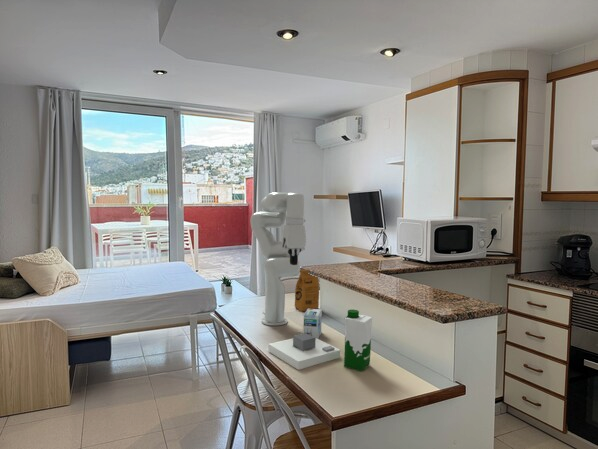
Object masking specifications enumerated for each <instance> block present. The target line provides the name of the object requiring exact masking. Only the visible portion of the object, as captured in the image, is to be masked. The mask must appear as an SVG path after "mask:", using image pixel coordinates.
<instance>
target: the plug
mask: <svg viewBox="0 0 598 449" xmlns="http://www.w3.org/2000/svg"><path fill="white" fill-rule="evenodd" d="M292 336H293V337H292V338H293V346H294V347H295V348H298V349H300V350H302V351H305V350H306V351H308V350H310V349H313V348H315V340H316V338H315V337H313V336H311V335H309V334H307V333H303V332H302V333H300V334H296V335H292Z"/></svg>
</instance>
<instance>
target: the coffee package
mask: <svg viewBox="0 0 598 449" xmlns="http://www.w3.org/2000/svg"><path fill="white" fill-rule="evenodd" d="M310 270H311V269H300V271H299V277H298V279H297V281H296V284H295V290H294V307H295V309H297V310H298V311H301V312H306V311H307V309H308V308H310V309H319V305H320V304H319V302H320V301H319V300H320V299H319V298H320V297H319V296H320V282H319V276H318V277H315V276H312V275H310V274H308V272H309V271H310Z"/></svg>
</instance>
